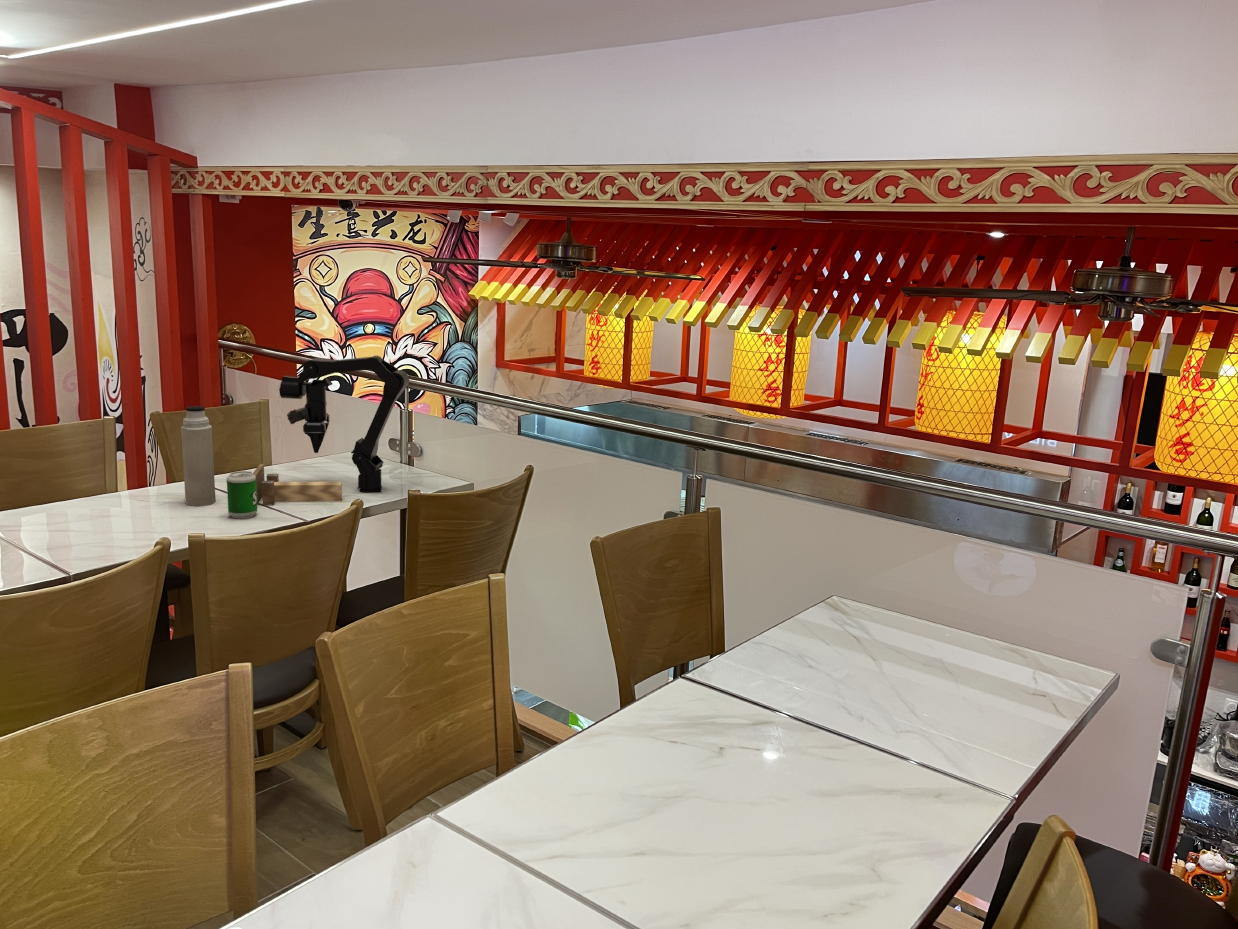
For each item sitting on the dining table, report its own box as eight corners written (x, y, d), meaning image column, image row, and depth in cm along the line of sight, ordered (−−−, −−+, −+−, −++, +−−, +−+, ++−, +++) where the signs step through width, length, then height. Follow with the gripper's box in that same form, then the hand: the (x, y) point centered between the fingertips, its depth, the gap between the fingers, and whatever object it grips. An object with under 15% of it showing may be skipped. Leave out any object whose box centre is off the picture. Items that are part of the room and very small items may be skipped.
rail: (342, 497, 285) (341, 481, 284) (340, 501, 281) (340, 484, 280) (270, 498, 281) (269, 482, 280) (267, 501, 277) (267, 485, 276)
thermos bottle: (201, 497, 279) (196, 403, 272) (221, 501, 275) (216, 406, 269) (179, 503, 271) (173, 407, 265) (199, 507, 268) (193, 410, 262)
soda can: (251, 520, 259) (249, 477, 256) (223, 518, 259) (221, 476, 256) (261, 512, 266) (260, 471, 264) (235, 511, 267) (233, 469, 264)
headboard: (280, 492, 287) (279, 464, 285) (272, 507, 272) (270, 476, 270) (260, 493, 286) (259, 464, 284) (251, 507, 271) (250, 477, 269)
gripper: (292, 394, 296) (293, 443, 300) (284, 404, 279) (286, 456, 282) (329, 394, 299) (330, 443, 302) (324, 405, 281) (325, 456, 285)
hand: (317, 449), depth 293 cm, fingers open, 9 cm apart
